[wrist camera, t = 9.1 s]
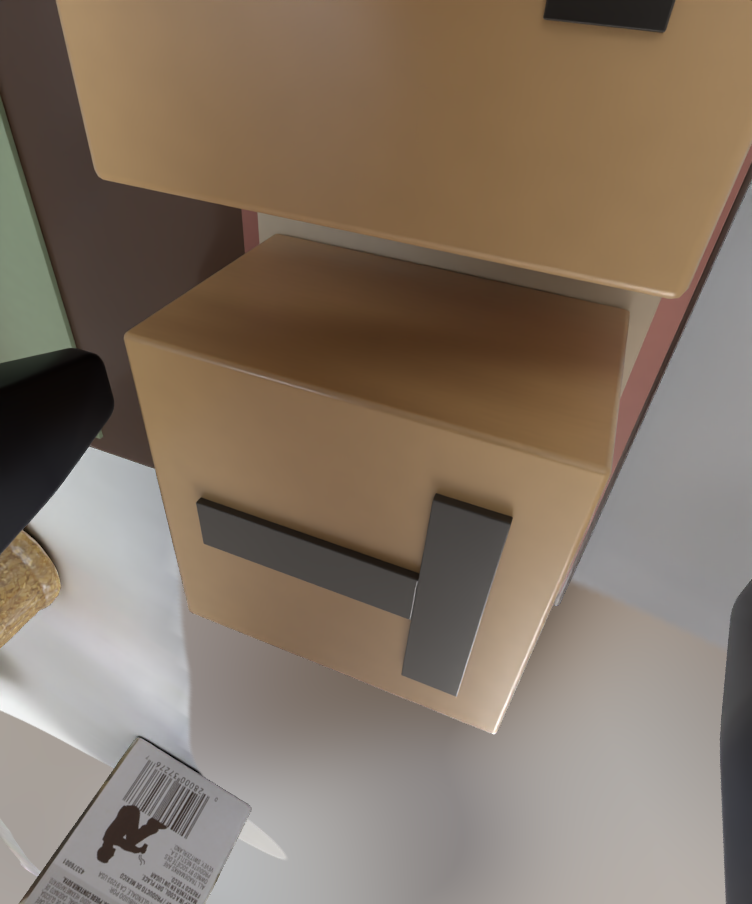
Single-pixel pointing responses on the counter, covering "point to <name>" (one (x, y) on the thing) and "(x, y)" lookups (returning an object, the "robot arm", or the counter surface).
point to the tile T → (380, 461)
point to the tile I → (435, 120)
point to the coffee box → (145, 837)
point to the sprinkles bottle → (24, 584)
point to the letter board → (205, 248)
